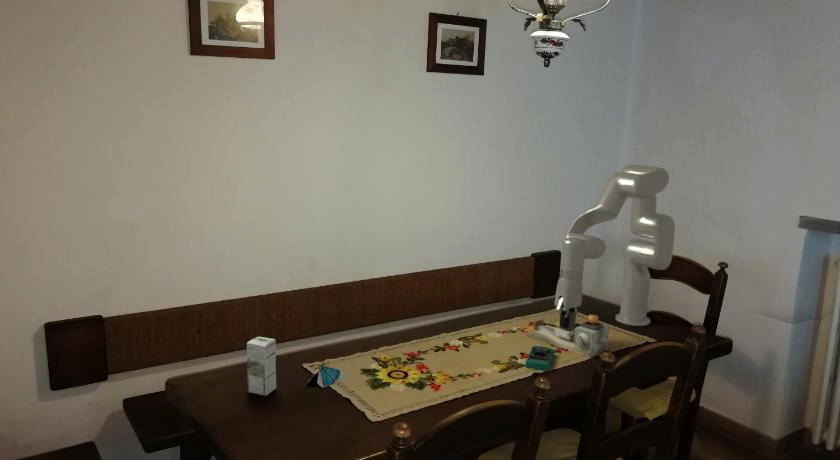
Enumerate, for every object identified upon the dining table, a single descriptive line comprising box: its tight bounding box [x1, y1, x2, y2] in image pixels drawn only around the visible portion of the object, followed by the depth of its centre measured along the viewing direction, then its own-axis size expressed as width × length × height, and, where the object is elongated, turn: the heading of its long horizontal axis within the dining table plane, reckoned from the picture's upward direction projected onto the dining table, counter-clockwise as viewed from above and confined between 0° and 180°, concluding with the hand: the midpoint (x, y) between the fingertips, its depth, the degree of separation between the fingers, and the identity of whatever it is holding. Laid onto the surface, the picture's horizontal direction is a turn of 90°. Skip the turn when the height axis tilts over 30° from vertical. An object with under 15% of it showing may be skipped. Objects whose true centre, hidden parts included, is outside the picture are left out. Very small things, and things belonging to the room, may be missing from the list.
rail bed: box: [526, 318, 610, 358], centre depth 223 cm, size 12×25×9 cm, turn 44°
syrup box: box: [246, 336, 277, 397], centre depth 177 cm, size 6×6×14 cm
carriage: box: [555, 310, 577, 340], centre depth 223 cm, size 7×5×9 cm
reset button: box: [587, 314, 599, 324], centre depth 215 cm, size 3×3×2 cm
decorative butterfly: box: [307, 361, 347, 389], centre depth 186 cm, size 10×6×10 cm
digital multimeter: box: [524, 345, 555, 372], centre depth 207 cm, size 7×15×3 cm, turn 162°
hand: (567, 326), depth 223 cm, fingers closed on carriage, 3 cm apart
